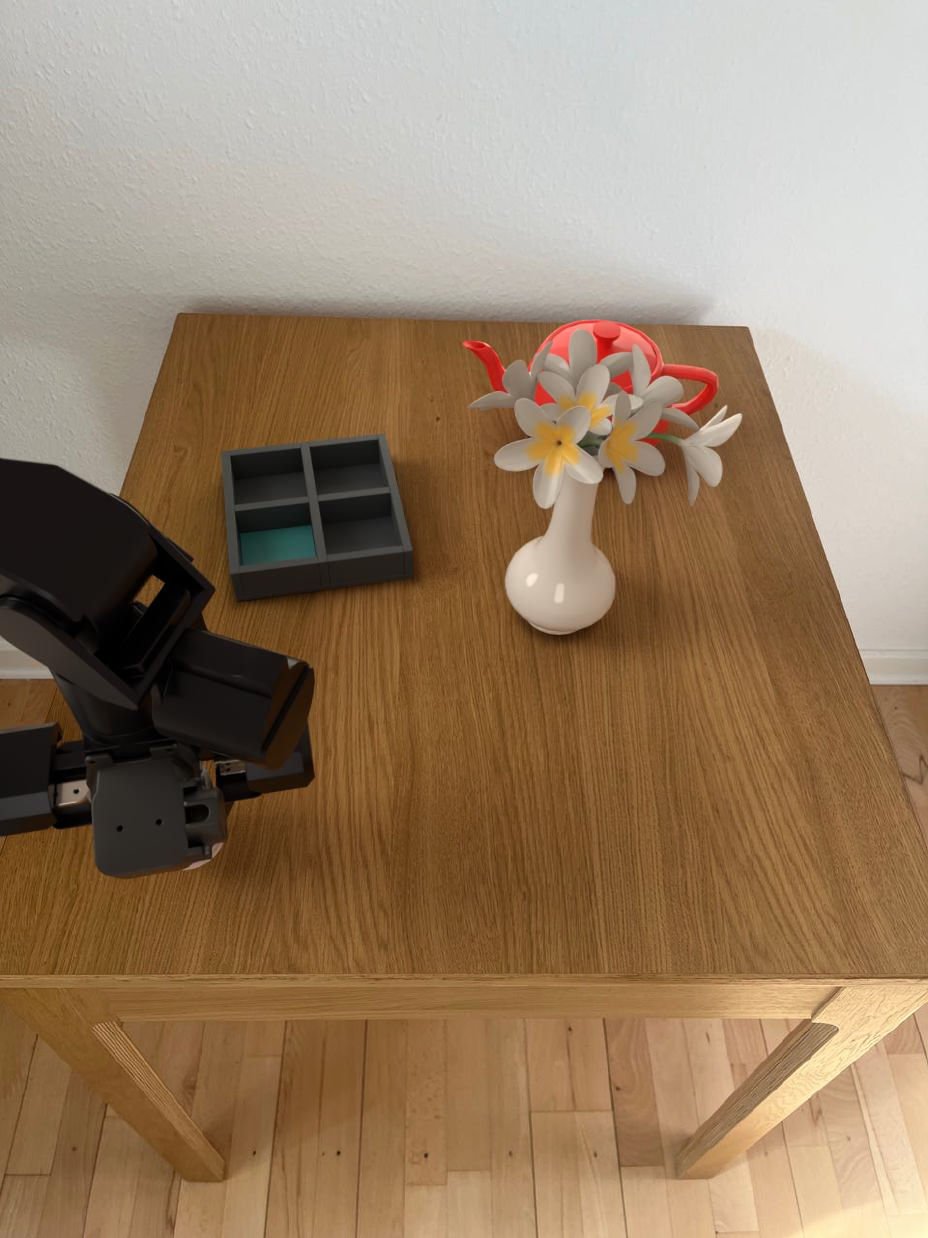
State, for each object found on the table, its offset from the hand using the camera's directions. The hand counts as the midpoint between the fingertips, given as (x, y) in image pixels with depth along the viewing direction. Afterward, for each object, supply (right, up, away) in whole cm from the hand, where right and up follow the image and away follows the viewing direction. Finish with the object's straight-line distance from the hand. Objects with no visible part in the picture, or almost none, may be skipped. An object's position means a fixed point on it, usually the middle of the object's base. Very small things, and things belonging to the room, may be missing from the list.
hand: (180, 820), depth 63 cm
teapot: (+31, +33, +33) cm, 56 cm away
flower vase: (+28, +15, +19) cm, 37 cm away
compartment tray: (+5, +22, +23) cm, 33 cm away
